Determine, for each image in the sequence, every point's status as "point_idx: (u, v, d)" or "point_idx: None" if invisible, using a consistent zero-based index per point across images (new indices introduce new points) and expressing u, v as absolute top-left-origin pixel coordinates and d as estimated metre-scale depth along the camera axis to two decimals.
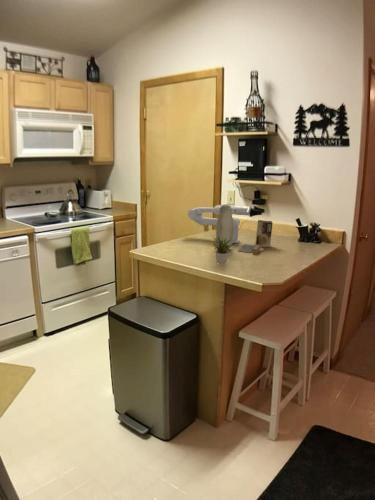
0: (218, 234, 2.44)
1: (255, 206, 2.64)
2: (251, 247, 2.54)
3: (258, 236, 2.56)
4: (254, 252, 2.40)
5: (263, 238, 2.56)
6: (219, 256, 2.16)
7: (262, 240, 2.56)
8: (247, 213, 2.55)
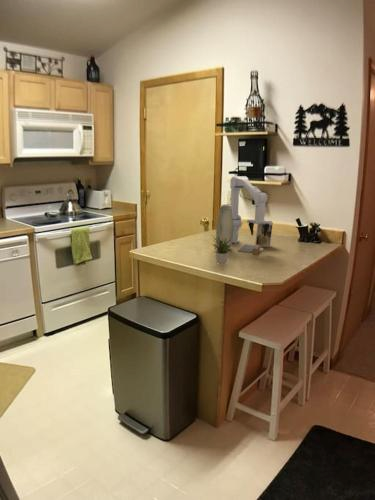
0: (218, 234, 2.44)
1: (265, 227, 2.39)
2: (251, 247, 2.54)
3: (258, 236, 2.56)
4: (254, 252, 2.40)
5: (263, 238, 2.56)
6: (219, 256, 2.16)
7: (262, 240, 2.56)
8: None
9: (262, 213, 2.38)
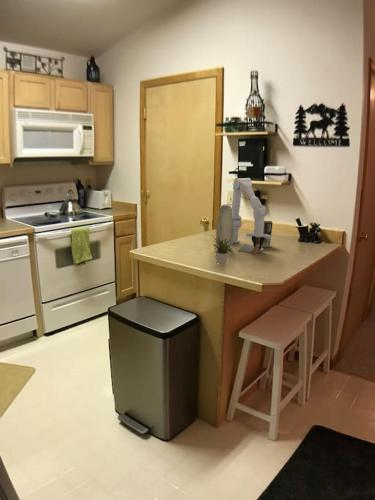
0: (218, 234, 2.44)
1: (260, 240, 2.41)
2: (251, 247, 2.54)
3: None
4: (254, 252, 2.40)
5: None
6: (219, 256, 2.16)
7: None
8: None
9: (261, 227, 2.40)
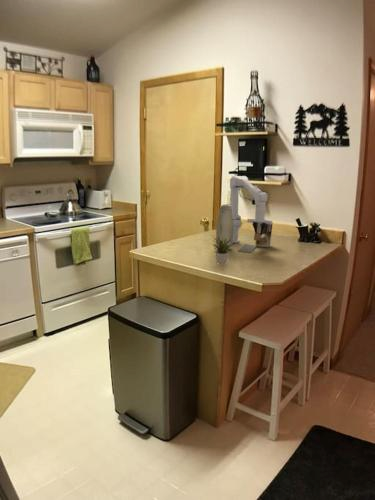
0: (218, 234, 2.44)
1: (262, 226, 2.40)
2: (251, 247, 2.54)
3: None
4: (255, 238, 2.39)
5: (263, 238, 2.56)
6: (219, 256, 2.16)
7: (262, 240, 2.56)
8: None
9: (262, 212, 2.39)
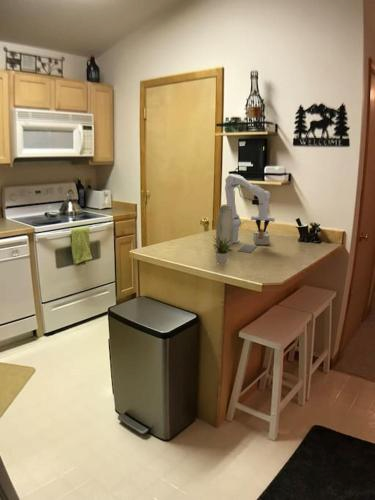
0: (218, 234, 2.44)
1: (265, 223, 2.49)
2: (251, 247, 2.54)
3: (256, 233, 2.68)
4: (260, 237, 2.47)
5: None
6: (219, 256, 2.16)
7: None
8: None
9: (267, 210, 2.48)
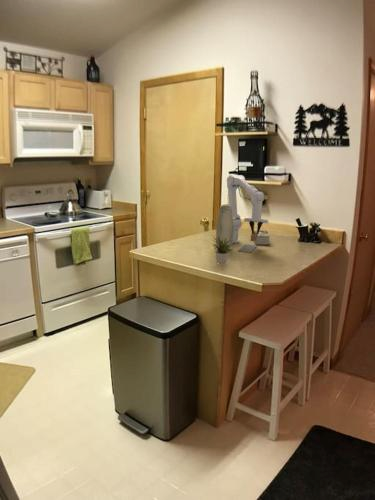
0: (218, 234, 2.44)
1: (258, 225, 2.44)
2: (251, 247, 2.54)
3: None
4: (252, 239, 2.43)
5: None
6: (219, 256, 2.16)
7: (261, 234, 2.65)
8: None
9: (259, 212, 2.42)
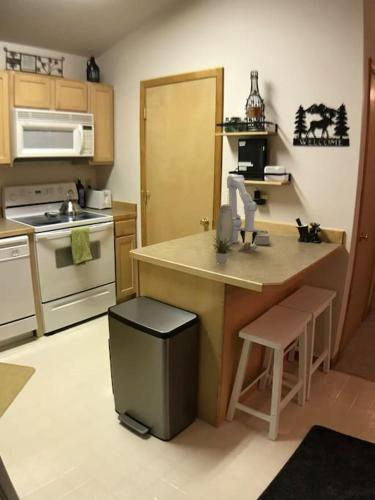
0: (218, 234, 2.44)
1: (253, 234, 2.47)
2: None
3: None
4: (244, 248, 2.47)
5: (261, 233, 2.67)
6: (219, 256, 2.16)
7: (261, 234, 2.65)
8: None
9: (251, 221, 2.46)
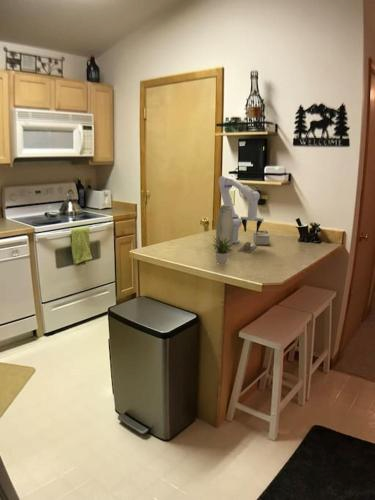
0: (218, 234, 2.44)
1: (257, 223, 2.51)
2: None
3: (256, 233, 2.68)
4: (244, 248, 2.47)
5: (261, 233, 2.67)
6: (219, 256, 2.16)
7: (261, 234, 2.65)
8: None
9: (255, 210, 2.51)
